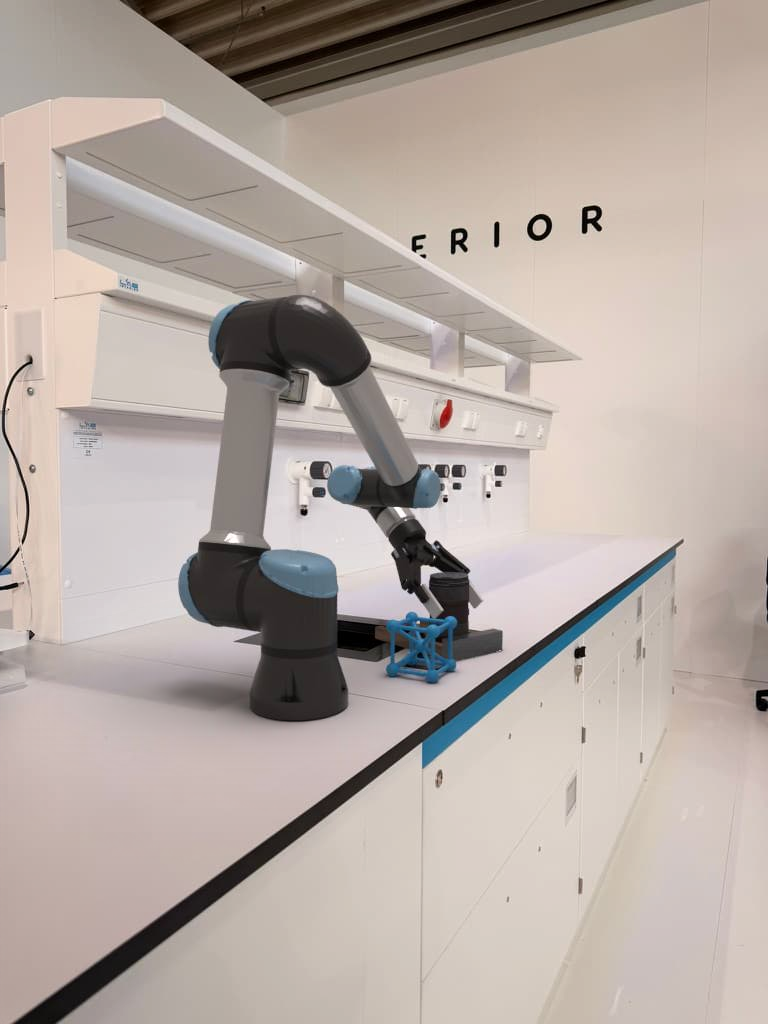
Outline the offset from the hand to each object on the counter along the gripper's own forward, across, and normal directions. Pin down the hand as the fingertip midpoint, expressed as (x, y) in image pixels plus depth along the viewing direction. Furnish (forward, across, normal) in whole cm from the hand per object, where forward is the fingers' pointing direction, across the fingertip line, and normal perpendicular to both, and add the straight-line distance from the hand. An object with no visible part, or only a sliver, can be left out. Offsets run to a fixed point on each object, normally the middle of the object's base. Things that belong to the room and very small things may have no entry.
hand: (459, 609), depth 146 cm
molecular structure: (+9, +17, -3) cm, 20 cm away
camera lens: (+4, 0, -8) cm, 9 cm away
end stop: (+9, +1, -3) cm, 9 cm away
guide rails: (0, -1, -11) cm, 11 cm away
